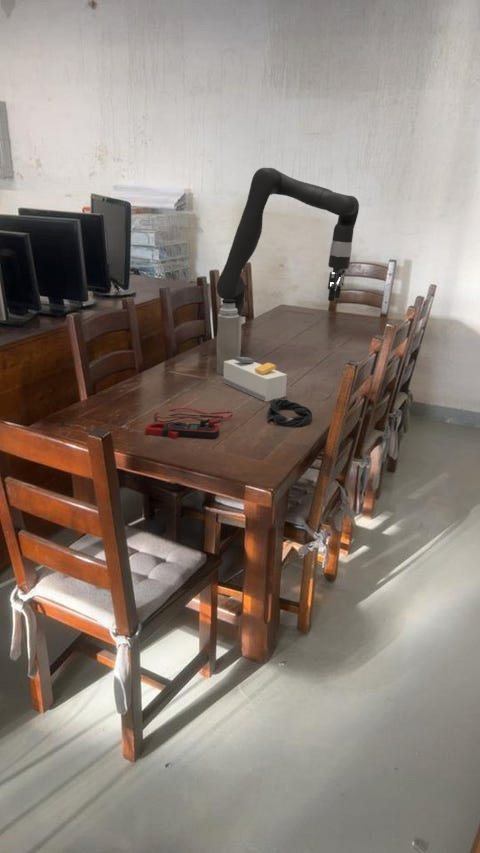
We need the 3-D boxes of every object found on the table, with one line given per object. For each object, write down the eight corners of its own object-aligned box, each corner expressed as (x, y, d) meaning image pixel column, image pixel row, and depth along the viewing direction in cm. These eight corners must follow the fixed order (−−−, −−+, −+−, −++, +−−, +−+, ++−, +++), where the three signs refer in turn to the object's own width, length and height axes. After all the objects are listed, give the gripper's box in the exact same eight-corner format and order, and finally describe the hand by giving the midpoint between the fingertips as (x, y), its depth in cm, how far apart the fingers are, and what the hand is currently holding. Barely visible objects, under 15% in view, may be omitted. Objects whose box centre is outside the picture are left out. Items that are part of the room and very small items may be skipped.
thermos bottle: (222, 368, 232) (223, 296, 221) (240, 371, 229) (243, 299, 218) (213, 373, 226) (214, 300, 214) (232, 376, 223) (234, 302, 211)
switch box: (222, 382, 216) (222, 361, 213) (242, 377, 222) (243, 357, 219) (264, 401, 199) (266, 379, 196) (285, 396, 205) (286, 374, 202)
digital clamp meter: (227, 429, 167) (141, 423, 169) (227, 444, 169) (141, 438, 171) (236, 400, 189) (159, 395, 191) (236, 413, 190) (160, 408, 192)
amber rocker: (255, 373, 203) (254, 368, 202) (268, 366, 206) (268, 362, 205) (263, 376, 200) (262, 371, 199) (276, 369, 203) (275, 365, 202)
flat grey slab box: (233, 360, 211) (234, 356, 211) (246, 361, 215) (247, 357, 214) (240, 363, 208) (241, 359, 208) (253, 364, 212) (254, 359, 212)
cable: (271, 405, 197) (272, 393, 195) (313, 409, 195) (314, 397, 193) (264, 425, 182) (265, 412, 180) (309, 430, 180) (311, 416, 178)
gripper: (334, 251, 221) (328, 295, 227) (325, 254, 208) (319, 300, 214) (354, 254, 218) (347, 298, 224) (346, 257, 206) (339, 303, 212)
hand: (333, 299), depth 219 cm, fingers open, 8 cm apart
